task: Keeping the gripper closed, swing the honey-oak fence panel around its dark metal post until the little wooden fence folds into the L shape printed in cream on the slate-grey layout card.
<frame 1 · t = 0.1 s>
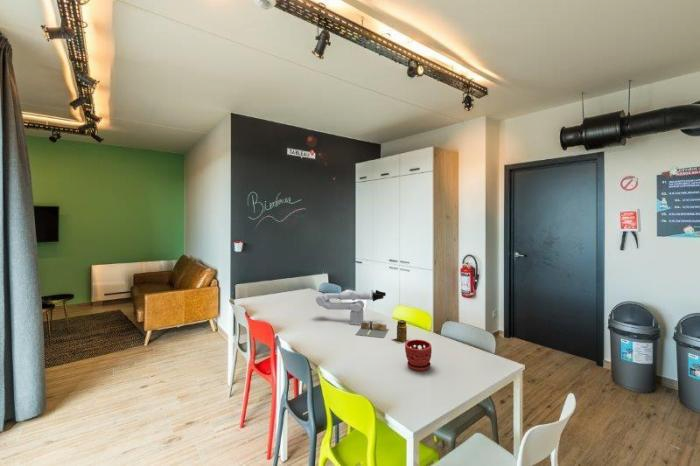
hand: (384, 295, 226), 22 cm above the table, tool horizontal, fingers open, 7 cm apart
layout card: (372, 332, 214), on the table
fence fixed: (370, 329, 219), resting on layout card
plant pot: (418, 367, 164), on the table
fence panel: (379, 327, 217), point 3 cm above the table, hinge at 0.0°
condiment: (400, 340, 200), on the table
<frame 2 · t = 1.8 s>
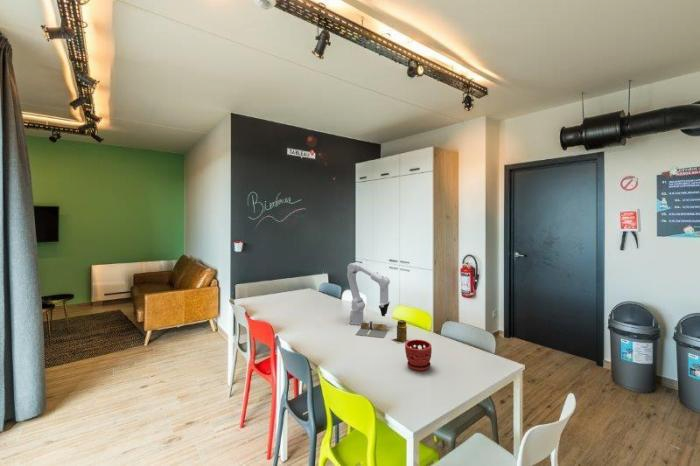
hand: (384, 314, 221), 9 cm above the table, tool pointing down, fingers open, 5 cm apart
nothing on the table moved.
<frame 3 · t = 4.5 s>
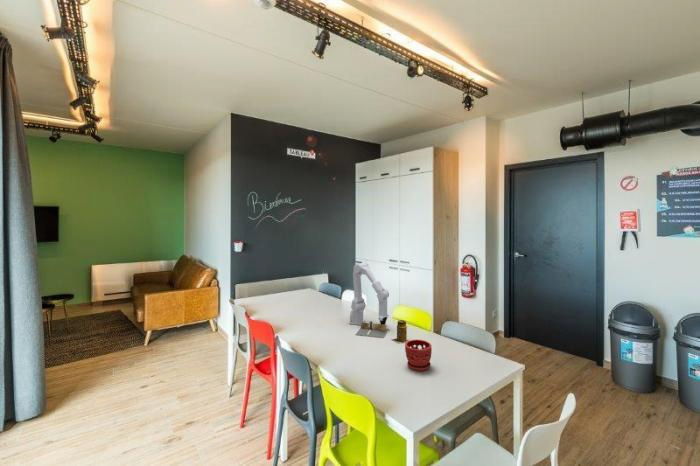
hand: (383, 328, 217), 2 cm above the table, tool pointing down, fingers closed
fence panel: (379, 327, 217), point 3 cm above the table, hinge at -0.3°, touching gripper
everything else where it was.
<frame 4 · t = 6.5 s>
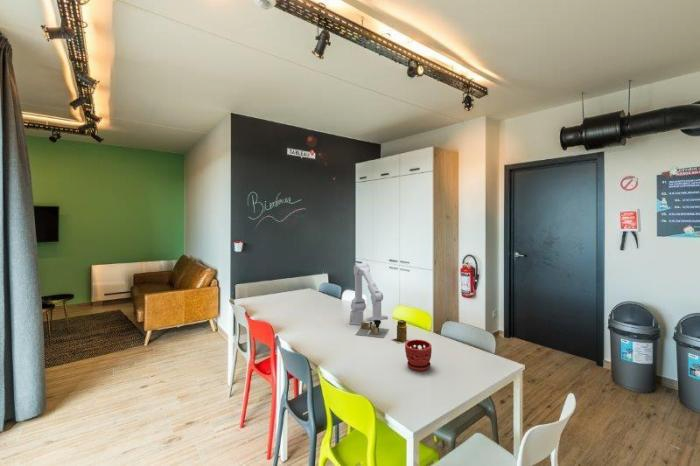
hand: (377, 331, 211), 2 cm above the table, tool pointing down, fingers closed, pressing on fence panel
fence panel: (374, 329, 213), point 3 cm above the table, hinge at -54.4°, touching gripper
everything else where it was.
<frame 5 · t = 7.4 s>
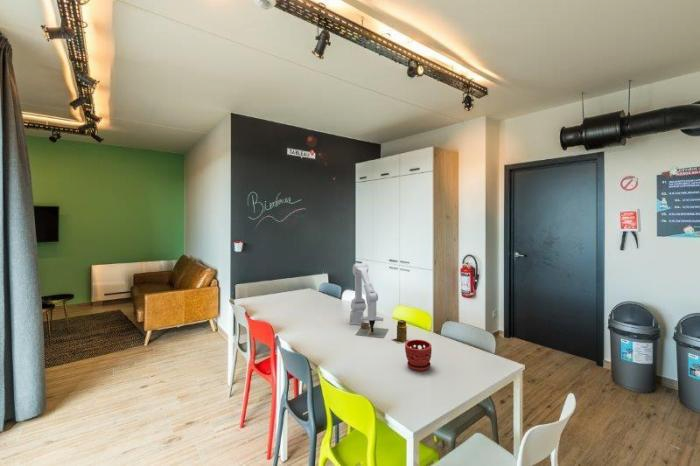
hand: (372, 331, 210), 2 cm above the table, tool pointing down, fingers closed, pressing on fence panel
fence panel: (370, 329, 212), point 3 cm above the table, hinge at -78.7°, touching gripper
everything else where it was.
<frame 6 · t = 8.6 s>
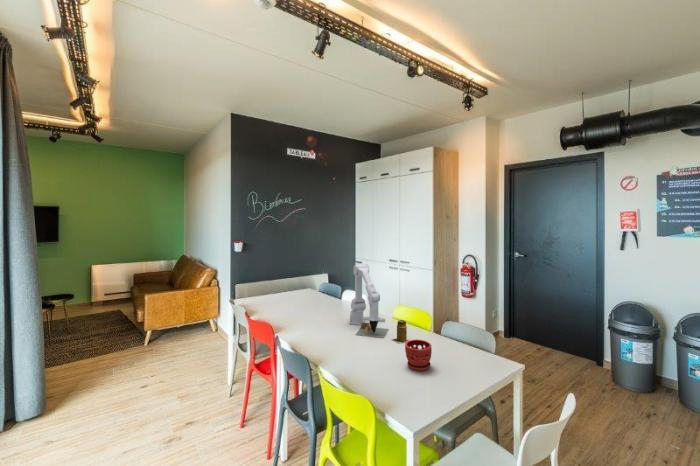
hand: (374, 332, 210), 2 cm above the table, tool pointing down, fingers closed
fence panel: (368, 329, 213), point 3 cm above the table, hinge at -93.9°
everything else where it was.
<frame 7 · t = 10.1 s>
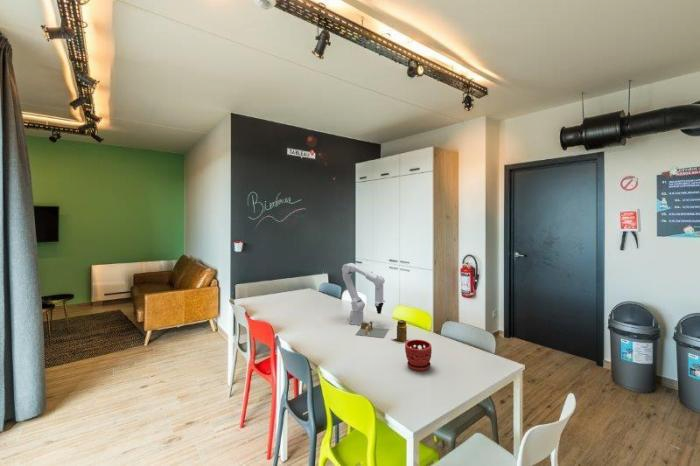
hand: (379, 313, 224), 9 cm above the table, tool pointing down, fingers closed
nothing on the table moved.
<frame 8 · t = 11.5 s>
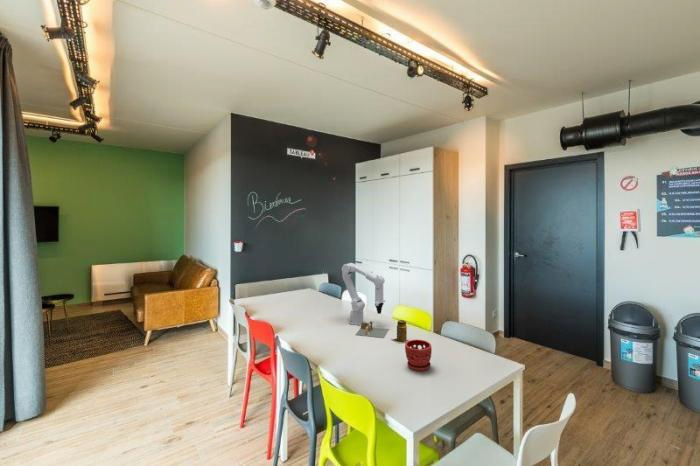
hand: (379, 313, 225), 9 cm above the table, tool pointing down, fingers closed
nothing on the table moved.
at the end: fence panel at -94° (first picture: +0°); condiment moved 0.3 cm from its start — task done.
